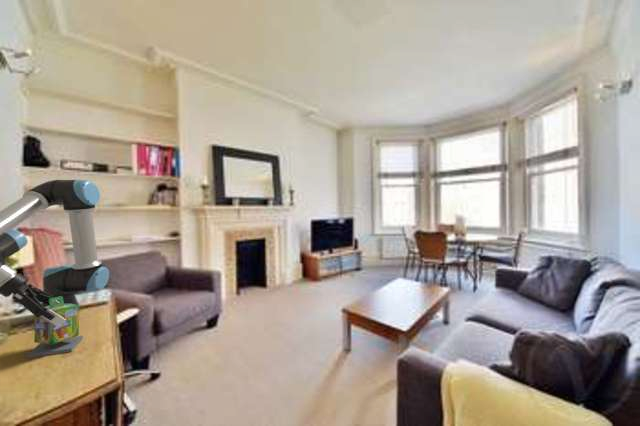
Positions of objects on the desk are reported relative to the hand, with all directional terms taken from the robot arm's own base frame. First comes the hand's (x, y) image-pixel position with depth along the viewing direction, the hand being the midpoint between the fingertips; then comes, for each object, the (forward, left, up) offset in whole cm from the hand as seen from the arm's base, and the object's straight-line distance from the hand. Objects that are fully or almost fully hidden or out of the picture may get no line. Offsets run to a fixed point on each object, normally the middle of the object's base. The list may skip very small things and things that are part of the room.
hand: (65, 318), depth 109 cm
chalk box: (+1, -2, -7) cm, 8 cm away
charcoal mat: (0, -2, -10) cm, 11 cm away
